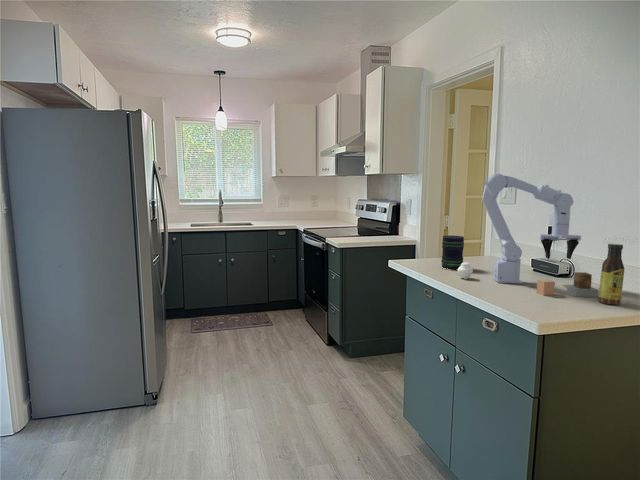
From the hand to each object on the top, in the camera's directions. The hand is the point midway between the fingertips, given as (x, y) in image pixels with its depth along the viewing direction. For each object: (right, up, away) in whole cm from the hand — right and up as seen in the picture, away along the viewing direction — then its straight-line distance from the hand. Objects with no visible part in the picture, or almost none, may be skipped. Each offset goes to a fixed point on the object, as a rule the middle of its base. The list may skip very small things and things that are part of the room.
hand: (558, 258), depth 166 cm
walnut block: (+1, -10, -14) cm, 17 cm away
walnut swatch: (+3, -11, -4) cm, 12 cm away
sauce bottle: (+3, -14, -25) cm, 29 cm away
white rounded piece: (-33, -9, +11) cm, 36 cm away
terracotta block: (-12, -12, -14) cm, 22 cm away
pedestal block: (+1, -13, -14) cm, 19 cm away
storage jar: (-31, -6, +33) cm, 46 cm away
